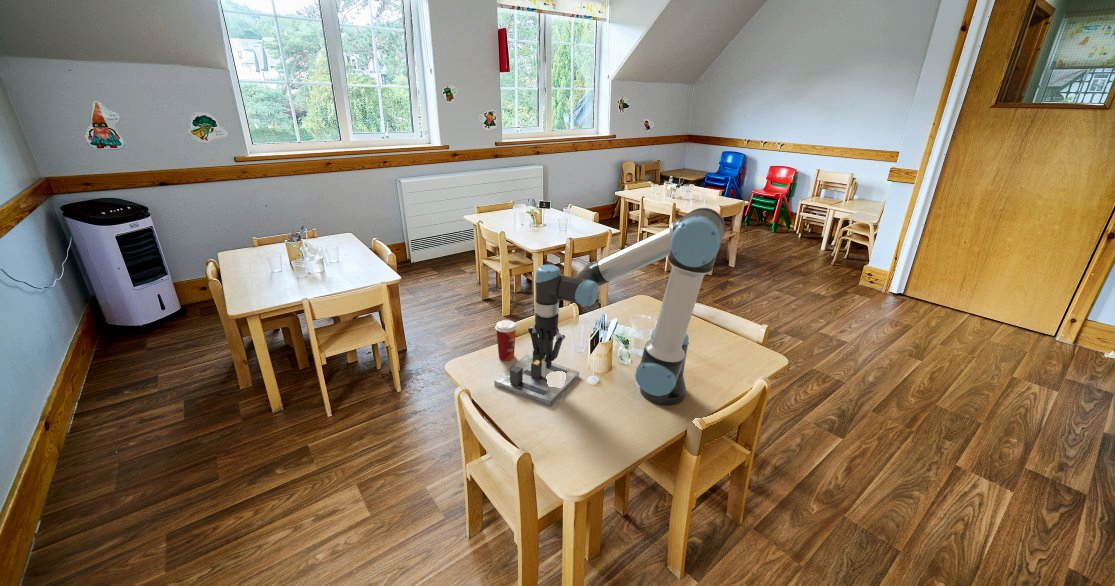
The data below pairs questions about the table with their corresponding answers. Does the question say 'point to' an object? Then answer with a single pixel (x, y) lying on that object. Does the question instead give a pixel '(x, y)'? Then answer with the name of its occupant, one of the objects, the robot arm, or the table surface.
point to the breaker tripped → (536, 369)
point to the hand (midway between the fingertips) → (545, 374)
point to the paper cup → (506, 339)
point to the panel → (536, 382)
